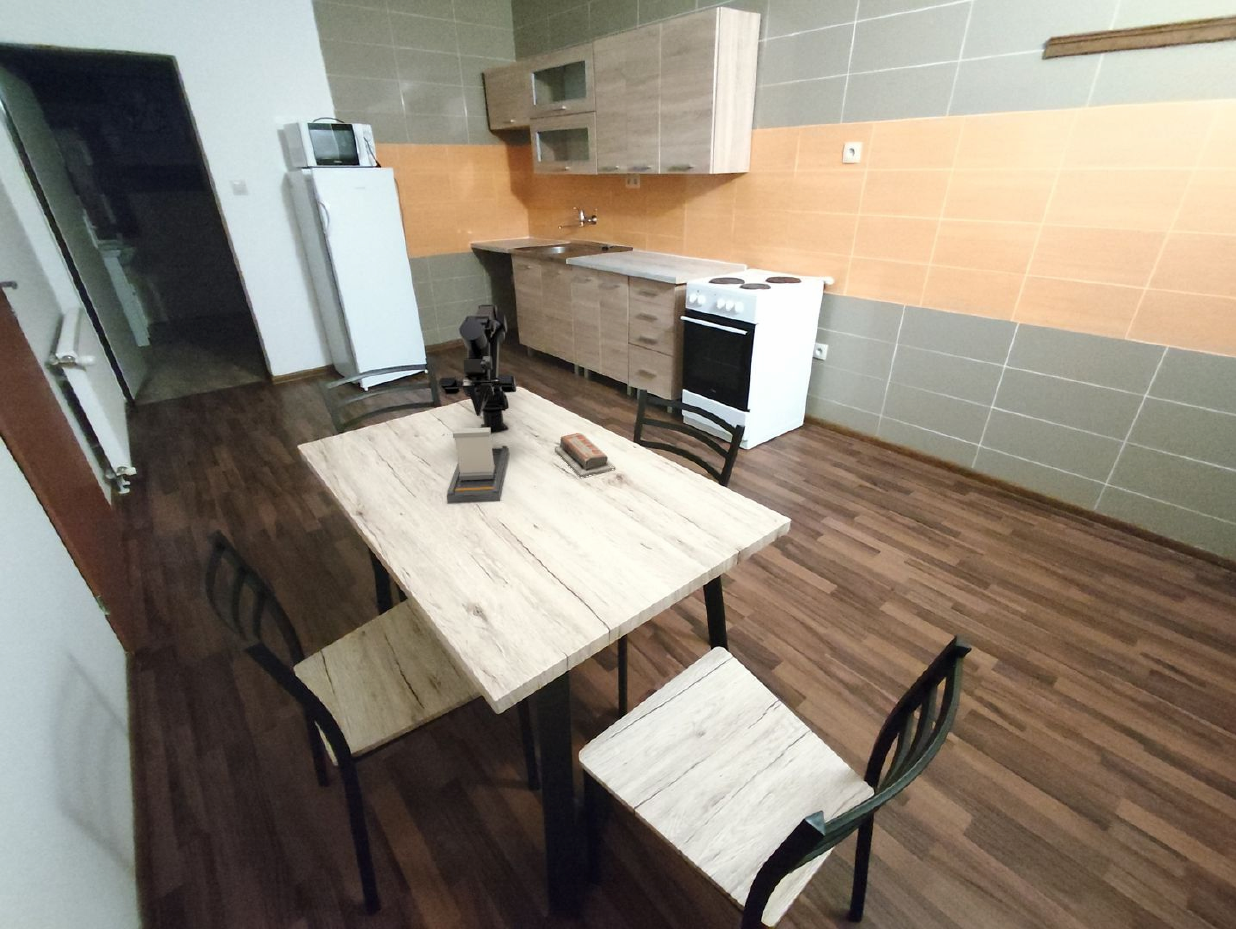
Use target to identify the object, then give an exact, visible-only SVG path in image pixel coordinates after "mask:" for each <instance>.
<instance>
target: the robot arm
mask: <svg viewBox="0 0 1236 929" xmlns="http://www.w3.org/2000/svg"><path fill="white" fill-rule="evenodd" d="M507 323H508V322H507V319H506V314H504V313H503V312H501V311H500V310H499V309H498V307H497V304H494V303H493V304H480V305H478V310H477V311H476V313H474V314H473V315H470V314H469V315H466V316H465V320H463V322H462V323H461V325H460V326H459V329H458V330H459V335H460V336H461V339H462V342H463V343H464V346H465V348H466V349H467V358H466V359H463V360H462V370H463V371H462V372H463V374H464V377H465V379H462V380H458V379H457V377H456V375H447V376H446V375H443V376H441V377H440V378H439V379H438V387H439V388H440V390H441V392H442V393H443V395H445V396H452V395H454V396H456V395H458V394H459V393H460V392H461V390H460V389H462V391H463V393H464V396H465V397H468V398H470V400H471V402H472V405H473V408H474V409H473V410H474V411H475V415H476V416H477V417H479V416H481V414H482V419H483V423H482V424H480V428H490V429H491V434H492V433H496V432H500V431H501V432H502V431H505V430H508V429H509V427H508V425H506V423H505V422H504V414H503V412H505V411H506V410H508V409H509V408H510V406H509V400H508V396H507V394H506V393H516V392H517V381H516V379H515V376H514V375H513V374H512V373H506V374H505V373H503V374H502V373H501V374H500V373H499V364H500V363H499V362H500V360H499V358H500V345H501V344H502V343H503V342H504V341H505V340H506V338H505V337H506V333H508V324H507Z"/></svg>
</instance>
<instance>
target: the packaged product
mask: <svg viewBox="0 0 1236 929" xmlns="http://www.w3.org/2000/svg"><path fill="white" fill-rule="evenodd" d="M559 444H560V445H559V446H554V451H555V453H557V455H558V456H559V457H560V456H561V457H562V458H561V457H560V458H561V459H562V460H563V462H566V463H567V464H568V465H569V466H570V467H569V466H568V465H567V464H566V463H565V464H566V465H567V466H568V467H569V468H570V469H571V468H572V469H573V470H574V471H573V470H572V469H571V470H572V471H573V472H574V474H576V475H577V476H578V475H579V476H580V477H584V478H587V477H586V476H588V477H590V476H589V475H592V476H594V475H593V474H596V475H600V474H604V473H606V472H607V471H608V472H611V471H610V470H612V469H615V470H616V466H615V465H614V464H613V463H612V462H611V461H609V460H608V458H609V457H608V456H607V455H606V454H605V453H604V452H603V451H602V450H601V449H600V448H598V447H597V445H595V444H594V443H593V442H592V441H591V440H590V439H588V438H587V437H586V436H585V435H584V434H582V433H579V432H576V433H572V434H567V435H563V436H561V437H560V442H559ZM612 471H613V470H612ZM603 472H604V473H603ZM599 473H600V474H599ZM579 476H578V477H579ZM580 477H579V478H580Z"/></svg>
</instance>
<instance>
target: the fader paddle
mask: <svg viewBox="0 0 1236 929" xmlns="http://www.w3.org/2000/svg"><path fill="white" fill-rule="evenodd" d="M491 434H492V433H491V429H490V428H482V427H472V428H469V427H468V428H454V429H453V431H452V437H453V439H454V444H455V445H454V446H455V451H456V456H457V464H458V463H459V469H460V475H459V479H460V480H480V479H493V478H494V474H495V470H496V468H495V465H494V461H493V453H492V448H493V447H492V446H493V445H492V439H491V438H492V437H491Z"/></svg>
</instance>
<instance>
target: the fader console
mask: <svg viewBox="0 0 1236 929" xmlns="http://www.w3.org/2000/svg"><path fill="white" fill-rule="evenodd" d="M492 453H493V461H494V465H495V468H496V470H495V474H494V478H493V479H480V480H460V479H459V475H460V469H459V463H458V462H457V464H456V466H455V469H454V471H453V475H452V478H451V480H450V483H449V486H448V488H447V492H446V500H447V502H446V503H447V504H458V503H476V502H477V503H479V502H480V503H481V502H482V503H483V502H498V501H501V497H502V493H503V492H502V491H503V488H502V487H504V482H505V478H506V477H505V476H506V473H507V468H508V463H507V462H509V458H508V457H509V456H510V451H509V447H508V445H502V447H496V448H493V447H492ZM501 492H502V493H501Z"/></svg>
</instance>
